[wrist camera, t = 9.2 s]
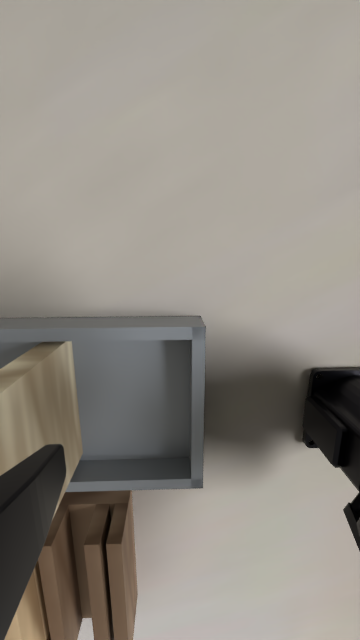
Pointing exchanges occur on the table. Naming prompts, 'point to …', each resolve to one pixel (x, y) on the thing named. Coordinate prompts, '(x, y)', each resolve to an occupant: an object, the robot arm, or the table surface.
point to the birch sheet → (40, 407)
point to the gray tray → (129, 396)
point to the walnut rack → (91, 566)
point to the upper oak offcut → (27, 616)
